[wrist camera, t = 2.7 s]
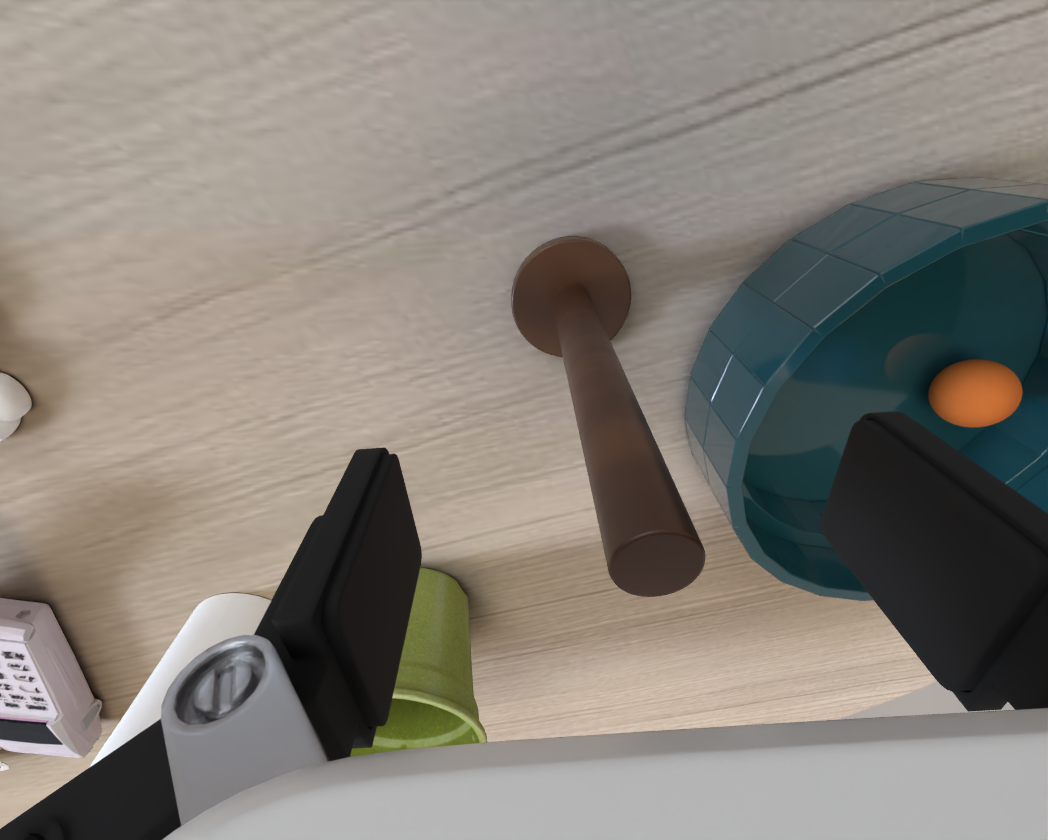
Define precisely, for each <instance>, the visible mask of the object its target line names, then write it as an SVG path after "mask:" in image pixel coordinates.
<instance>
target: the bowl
mask: <svg viewBox="0 0 1048 840" xmlns="http://www.w3.org/2000/svg"><path fill="white" fill-rule="evenodd" d="M971 359H982V360H990V361H994V362H997V363H1000V364H1002V365H1004V366H1006V367H1008V368H1009V369H1010V370H1012V371H1013V372H1014V373H1015V374H1016V376H1017V377H1018V378H1019V380H1020V382H1021V385H1022V390H1023V393H1022V399H1021V402H1020V404H1019V406H1018V408H1017V409H1016V410H1015V411H1014V412H1013V413H1012V414H1011V415H1010V416H1009V417H1007V418H1006V419H1004V420H1003V421H1001V422H998V423H996V424H993V425H990V426H985V427H962V426H958V425H955V424H952V423H950V422H947V421H946V420H944V419H942V418H941V417H940V416H938V415H937V414H936V412H935V411H934V410H933V408H932V407H931V405H930V402H929V397H928V393H929V387H930V385H931V382H932V381H933V379H934V378H935V377H936V375H937V374H938V373H939V372H941V371H942V370H943V369H945V368H946V367H948V366H950V365H952V364H954V363H957V362H960V361H965V360H971ZM891 411H900V412H902V413H904V414H906V415H908V416H909V417H910V418H912V419H913V420H915V421H916V422H918V423H919V424H920V425H922V426H923V427H925V428H926V429H928V430H929V431H930V432H932V433H933V434H935V435H936V436H938V437H939V438H940V439H942V440H943V441H945V442H946V443H948V444H949V445H950V446H952V447H953V448H955V449H956V450H958V451H959V452H960V453H962V454H963V455H965V456H966V457H968V458H969V459H970V460H972V461H973V462H975V463H976V464H978V465H979V466H980V467H982V468H983V469H985V470H986V471H988V472H989V473H990V474H992V475H993V476H995V477H996V478H997V479H999V480H1000V481H1002V482H1003V483H1005V484H1006V485H1007V486H1009V487H1010V488H1012V489H1013V490H1015V491H1016V492H1017V493H1019V494H1020V495H1022V496H1023V497H1025V498H1026V499H1027V500H1029V501H1030V502H1032V503H1033V504H1035V505H1036V506H1037V507H1039V508H1040V509H1042V510H1043V511H1045V512H1046V513H1047V514H1048V185H1047V184H1037V183H1028V182H1018V181H1008V180H998V179H988V178H979V177H967V178H955V179H942V180H929V181H917V182H913V183H909V184H906V185H903V186H900V187H897V188H894V189H891V190H888V191H885V192H882V193H879V194H876V195H873V196H870V197H867V198H865V199H862V200H859V201H856V202H853V203H851V204H850V205H846V206H845V207H843V208H841V209H840V210H838V211H836V212H835V213H833V214H831V215H830V216H828V217H826V218H825V219H823V220H821V221H820V222H818V223H816V224H815V225H813V226H811V227H810V228H808V229H806V230H805V231H803V232H801V233H800V234H798V235H796V236H795V237H793V238H792V240H791V239H790V240H788V241H787V242H786V243H785V244H784V245H783V246H782V247H781V248H780V249H779V250H778V251H776V252H775V253H774V254H773V255H772V256H771V257H770V258H769V259H768V260H767V261H765V262H764V263H763V264H762V265H761V266H760V267H759V268H758V269H757V270H756V271H755V272H753V273H752V274H751V275H750V276H749V277H748V278H747V279H746V280H745V281H744V283H742V284H741V285H740V287H739V288H738V289H737V291H736V292H735V294H734V295H733V296H732V298H731V299H730V301H729V302H728V303H727V305H726V306H725V308H724V309H723V310H722V312H721V313H720V314H719V316H718V317H717V319H716V320H715V321H714V323H713V324H712V326H711V327H710V330H709V331H708V333H707V336H706V338H705V340H704V343H703V345H702V348H701V350H700V352H699V355H698V357H697V360H696V362H695V364H694V367H693V369H692V372H691V376H690V379H689V387H688V395H687V403H686V410H685V421H686V427H687V432H688V437H689V442H690V447H691V452H692V455H693V457H694V459H695V460H696V462H697V464H698V466H699V468H700V469H701V471H702V473H703V475H704V477H705V479H706V480H707V482H708V484H709V486H710V488H711V490H712V491H713V493H714V495H715V497H716V499H717V501H718V502H719V504H720V506H721V508H722V510H723V512H724V513H725V515H726V517H727V519H728V521H729V523H730V524H731V526H732V528H733V530H734V531H735V533H736V535H737V536H738V538H739V540H740V541H741V543H742V545H743V546H744V548H745V549H746V551H747V553H748V554H749V556H750V558H751V559H752V560H754V561H755V562H756V563H758V564H759V565H760V566H761V567H763V568H764V569H765V570H767V571H768V572H769V573H771V574H772V575H773V576H774V577H776V578H777V579H778V580H780V581H782V582H784V583H786V584H789V585H792V586H794V587H797V588H800V589H803V590H805V591H808V592H811V593H813V594H816V595H819V596H826V597H834V598H842V599H850V600H858V601H869V600H873V598H872V597H871V596H870V595H869V593H868V592H867V591H866V589H865V588H864V587H863V586H862V584H861V583H860V582H859V581H858V579H857V578H856V577H855V575H854V574H853V573H852V572H851V570H850V569H849V568H848V567H847V565H846V564H845V563H844V561H843V560H842V559H841V558H840V556H839V555H838V554H837V552H836V551H835V550H834V549H833V547H832V546H831V545H830V544H829V542H828V541H827V540H826V538H825V537H824V535H823V533H822V531H821V525H820V522H821V517H822V514H823V511H824V508H825V505H826V502H827V499H828V496H829V493H830V490H831V488H832V485H833V482H834V479H835V476H836V473H837V470H838V467H839V464H840V461H841V458H842V455H843V452H844V449H845V446H846V443H847V440H848V437H849V434H850V431H851V428H852V426H853V424H854V423H855V422H857V421H859V420H860V418H861V417H862V416H863V415H865V414H867V413H877V412H891Z"/></svg>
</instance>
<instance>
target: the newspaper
mask: <svg viewBox="0 0 1048 840" xmlns="http://www.w3.org/2000/svg"><path fill="white" fill-rule="evenodd" d="M1 749H2V747H0V750H1ZM8 769H10V768H9V765H8V764H5V763H3V762H0V771H3V770H8Z"/></svg>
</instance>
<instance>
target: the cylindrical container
mask: <svg viewBox="0 0 1048 840" xmlns="http://www.w3.org/2000/svg"><path fill="white" fill-rule="evenodd" d="M270 603H271V600H268V599H265V598H262V597H259V596H254V595H249V594H241V593H226V594H220V595H215V596H212V597H210V598H207V599H205V600H204V601H202V602H201V603H200V604H199V605H198V606H197V607H196V608H195V610H194V611H193V613H192V614H191V616H190V617H189V619H188V620H187V622H186V623H185V625H184V626H183V628H182V629H181V631H180V632H179V634H178V635H177V637H176V638H175V640H174V641H173V643H172V644H171V646H170V647H169V649H168V650H167V652H166V653H165V655H164V656H163V658H162V659H161V661H160V662H159V664H158V665H157V667H156V668H155V670H154V671H153V673H152V674H151V676H150V677H149V679H148V680H147V682H146V683H145V685H144V686H143V688H142V689H141V691H140V692H139V694H138V695H137V697H136V698H135V700H134V701H133V703H132V704H131V706H130V707H129V709H128V710H127V712H126V713H125V715H124V716H123V718H122V719H121V721H120V722H119V723H118V725H117V726H116V728H115V729H114V731H113V732H112V734H111V735H110V737H109V738H108V740H107V741H106V743H105V744H104V746H103V747H102V749H101V750H100V752H99V753H98V755H97V756H96V758H95V759H94V761H93V762H92V764H91V765H90V767H91V766H93V765H94V764H95V763H97V762H98V761H100V760H101V759H103V758H104V757H106V756H107V755H109V754H110V753H111V752H113V751H114V750H116V749H117V748H119V747H120V746H122V745H123V744H125V743H126V742H127V741H129V740H130V739H132V738H133V737H135V736H136V735H138V734H139V733H141V732H142V731H143V730H145V729H146V728H148V727H149V726H151V725H152V724H154V723H155V722H157V721H158V720H159V719H161V705H162V702H163V700H164V697H165V695H166V692H167V690H168V688H169V686H170V685H171V684H172V682H173V681H174V679H175V678H176V676H177V675H178V674H179V672H180V671H181V670H182V669H183V668H184V667H186V666H187V665H188V664H189V663H190V662H191V661H192V660H193V659H194V658H195V657H197V656H198V655H199V654H201V653H202V652H204V651H205V650H207V649H208V648H209V647H211V646H213V645H215V644H218V643H220V642H222V641H224V640H226V639H229V638H233V637H237V636H241V635H254V633H255V631H256V629H257V628H258V626H259V624H260V622H261V620H262V618H263V616H264V614H265V612H266V610H267V608H268V606H269V604H270ZM90 767H89V768H90Z"/></svg>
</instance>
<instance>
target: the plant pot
mask: <svg viewBox="0 0 1048 840" xmlns="http://www.w3.org/2000/svg"><path fill="white" fill-rule="evenodd" d="M476 743H487V736H486V733H485V730H484V728H483V726H482V724H481V723H480V721H479V714H478V707H477V704H476V701H475V699H474V694H473V679H472V662H471V645H470V625H469V607H468V597H467V595H466V594H465V593H464V592H463V590H462V589H461V587H460V586H459V584H458V582H457V581H456V580H455V579H453V578H452V577H450V576H448V575H446V574H444V573H442V572H439V571H436V570H432V569H426V568H420V571H419V576H418V580H417V585H416V590H415V594H414V599H413V604H412V609H411V613H410V618H409V623H408V627H407V632H406V637H405V641H404V646H403V651H402V655H401V660H400V665H399V669H398V674H397V679H396V683H395V688H394V693H393V697H392V702H391V707H390V711H389V716H388V720H387V722H386V724H385V725H384V726H377V728H376V732H375V737H374V741H373V745H372V747H371V748H354V749H352V751H351V755H350V757H353V756H360V755H368V754H375V753H382V752H390V751H397V750H404V749H416V748H428V747H440V746H452V745H464V744H476Z"/></svg>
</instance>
